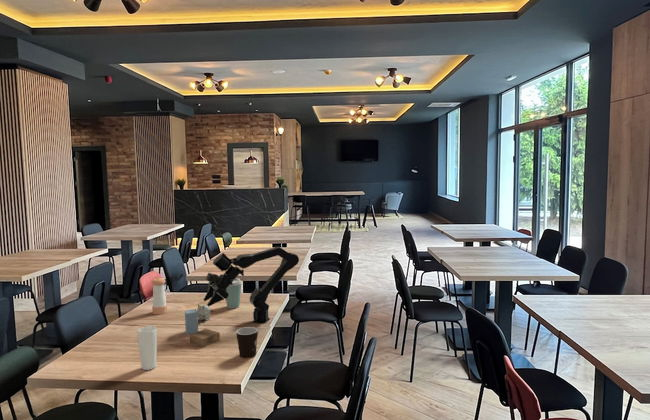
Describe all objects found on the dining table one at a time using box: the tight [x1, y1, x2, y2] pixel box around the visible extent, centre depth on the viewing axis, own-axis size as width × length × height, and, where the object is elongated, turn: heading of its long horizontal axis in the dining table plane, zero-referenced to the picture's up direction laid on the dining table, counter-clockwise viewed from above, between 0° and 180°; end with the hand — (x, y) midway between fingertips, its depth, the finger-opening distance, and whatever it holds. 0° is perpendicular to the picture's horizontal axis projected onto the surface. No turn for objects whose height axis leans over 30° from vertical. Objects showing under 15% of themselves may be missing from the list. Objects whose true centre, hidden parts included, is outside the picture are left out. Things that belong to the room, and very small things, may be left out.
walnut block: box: [188, 328, 221, 348], centre depth 192 cm, size 9×9×4 cm
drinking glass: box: [137, 325, 158, 371], centre depth 166 cm, size 7×7×15 cm
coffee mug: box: [235, 326, 259, 359], centre depth 178 cm, size 12×9×10 cm
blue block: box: [184, 308, 199, 336], centre depth 203 cm, size 5×5×10 cm
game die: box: [196, 304, 213, 322], centre depth 221 cm, size 9×8×10 cm
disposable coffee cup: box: [225, 277, 242, 309], centre depth 242 cm, size 11×11×15 cm
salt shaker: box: [150, 276, 168, 315], centre depth 234 cm, size 7×7×19 cm
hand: (205, 303), depth 206 cm, fingers open, 9 cm apart
